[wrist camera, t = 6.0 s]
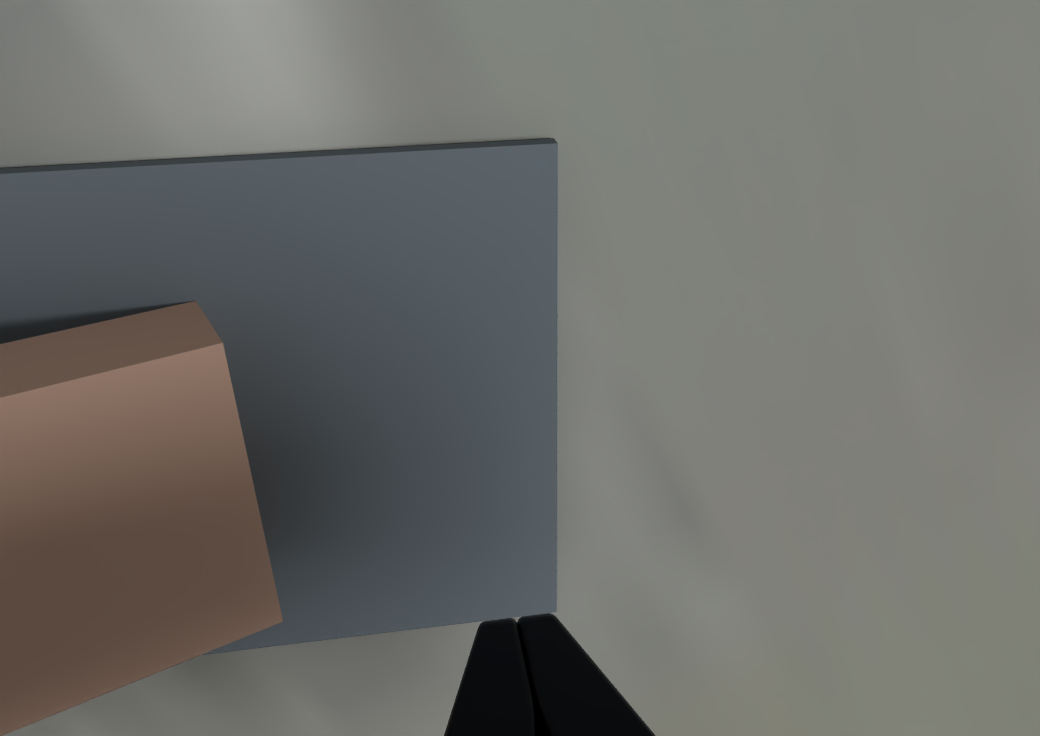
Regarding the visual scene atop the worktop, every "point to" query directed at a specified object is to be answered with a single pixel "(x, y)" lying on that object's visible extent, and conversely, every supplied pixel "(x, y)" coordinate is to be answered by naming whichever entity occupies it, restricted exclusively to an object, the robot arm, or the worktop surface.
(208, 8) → the worktop surface
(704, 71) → the worktop surface
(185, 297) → the mat
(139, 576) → the domino
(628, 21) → the worktop surface
